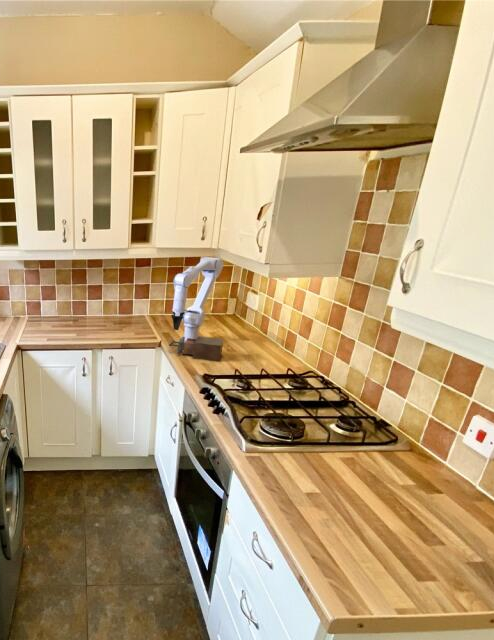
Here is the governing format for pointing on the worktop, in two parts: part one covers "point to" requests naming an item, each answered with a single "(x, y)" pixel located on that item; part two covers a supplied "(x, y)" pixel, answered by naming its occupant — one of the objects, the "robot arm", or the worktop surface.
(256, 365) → the worktop surface
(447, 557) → the worktop surface
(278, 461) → the worktop surface
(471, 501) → the worktop surface
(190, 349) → the drawer
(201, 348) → the cabinet
